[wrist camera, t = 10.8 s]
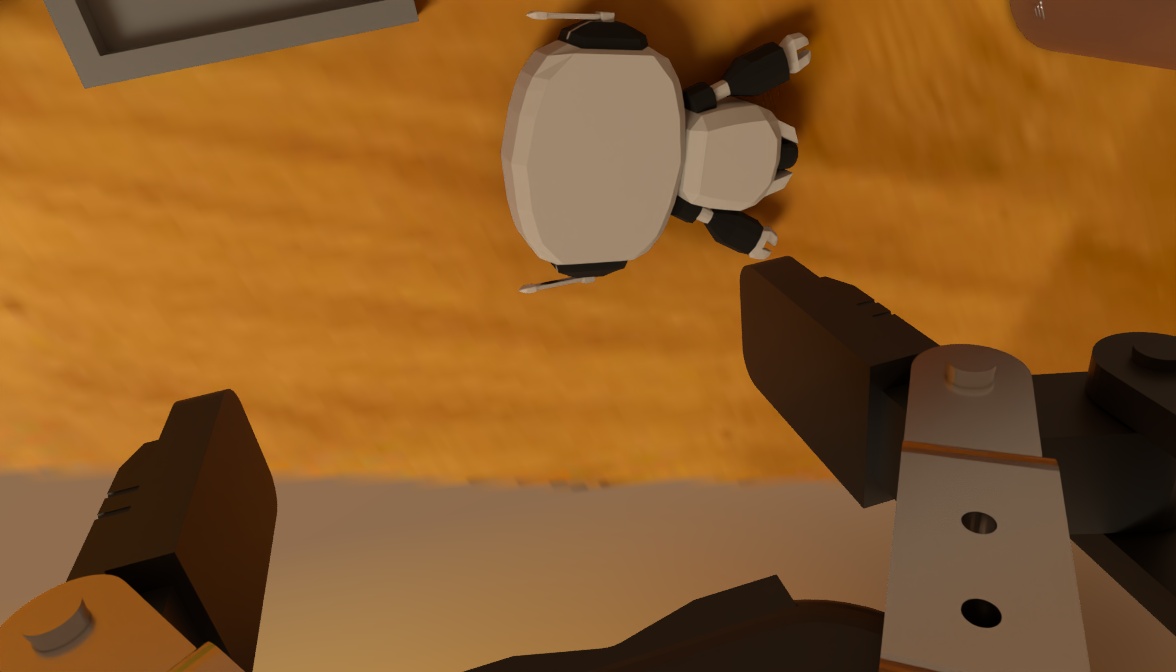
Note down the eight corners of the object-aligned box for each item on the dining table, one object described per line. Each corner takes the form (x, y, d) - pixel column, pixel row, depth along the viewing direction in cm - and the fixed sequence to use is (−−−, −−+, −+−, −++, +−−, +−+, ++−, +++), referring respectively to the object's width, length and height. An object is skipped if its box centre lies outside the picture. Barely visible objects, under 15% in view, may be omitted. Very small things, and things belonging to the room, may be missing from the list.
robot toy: (785, 17, 39) (492, 2, 34) (840, 26, 35) (520, 10, 30) (747, 248, 44) (489, 266, 39) (791, 278, 40) (513, 301, 35)
